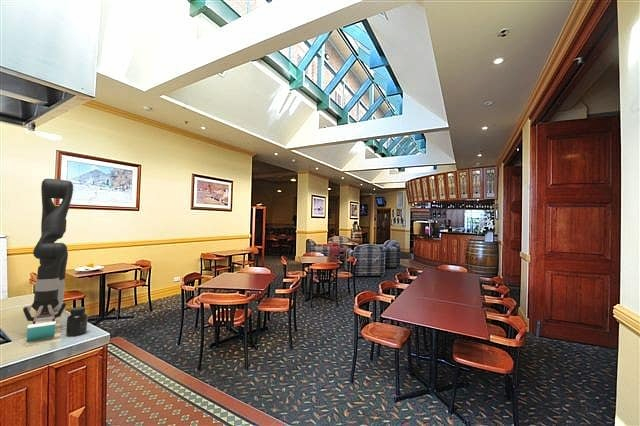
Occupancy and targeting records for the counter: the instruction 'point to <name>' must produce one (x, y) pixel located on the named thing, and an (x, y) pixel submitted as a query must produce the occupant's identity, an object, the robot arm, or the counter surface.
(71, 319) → the supplement bottle
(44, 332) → the tile
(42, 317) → the brown block
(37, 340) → the board
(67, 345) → the counter surface
